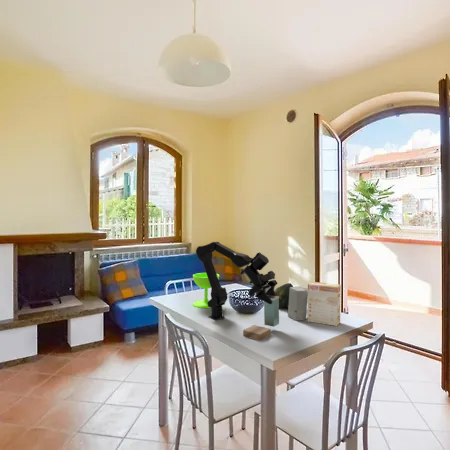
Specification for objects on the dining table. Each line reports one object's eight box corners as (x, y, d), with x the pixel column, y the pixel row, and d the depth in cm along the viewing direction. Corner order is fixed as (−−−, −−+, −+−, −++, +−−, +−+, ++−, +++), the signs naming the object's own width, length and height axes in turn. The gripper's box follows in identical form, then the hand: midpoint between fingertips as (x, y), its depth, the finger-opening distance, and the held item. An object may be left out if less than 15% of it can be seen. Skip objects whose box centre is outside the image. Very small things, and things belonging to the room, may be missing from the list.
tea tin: (264, 324, 155) (263, 297, 155) (269, 321, 159) (269, 295, 159) (273, 326, 152) (273, 298, 152) (279, 323, 156) (278, 296, 156)
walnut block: (243, 336, 148) (243, 330, 148) (254, 331, 155) (254, 324, 155) (260, 341, 143) (260, 334, 143) (270, 335, 150) (270, 328, 150)
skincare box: (287, 316, 177) (287, 287, 176) (298, 315, 179) (299, 286, 179) (296, 321, 169) (296, 290, 168) (308, 319, 171) (308, 289, 171)
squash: (264, 296, 199) (277, 280, 191) (282, 293, 208) (294, 278, 200) (276, 316, 191) (290, 300, 183) (294, 312, 200) (308, 297, 192)
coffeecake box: (340, 322, 167) (341, 284, 166) (337, 326, 161) (337, 286, 160) (311, 317, 175) (311, 281, 174) (307, 321, 169) (307, 283, 168)
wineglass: (214, 309, 190) (214, 278, 189) (188, 307, 194) (188, 276, 193) (222, 302, 205) (222, 273, 205) (198, 300, 209) (198, 272, 209)
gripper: (254, 268, 150) (275, 296, 143) (274, 263, 164) (294, 288, 158) (239, 283, 155) (259, 310, 148) (260, 277, 170) (279, 302, 163)
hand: (274, 302), depth 154 cm, fingers closed on tea tin, 5 cm apart
